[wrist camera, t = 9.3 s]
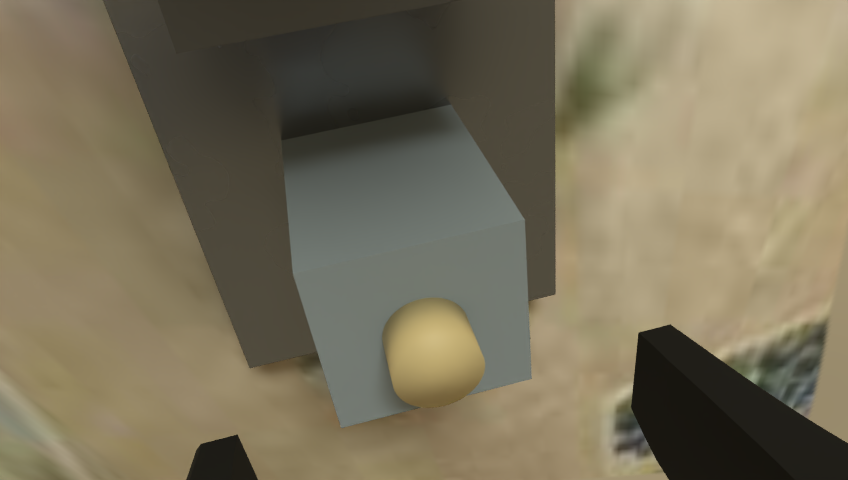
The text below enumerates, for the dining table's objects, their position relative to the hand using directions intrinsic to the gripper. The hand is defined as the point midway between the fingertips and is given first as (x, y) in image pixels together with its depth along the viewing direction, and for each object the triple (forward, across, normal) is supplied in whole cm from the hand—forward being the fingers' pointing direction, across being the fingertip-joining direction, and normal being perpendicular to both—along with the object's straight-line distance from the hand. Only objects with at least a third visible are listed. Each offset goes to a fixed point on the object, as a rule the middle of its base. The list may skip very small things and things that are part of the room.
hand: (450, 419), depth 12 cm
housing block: (+8, 0, 0) cm, 8 cm away
